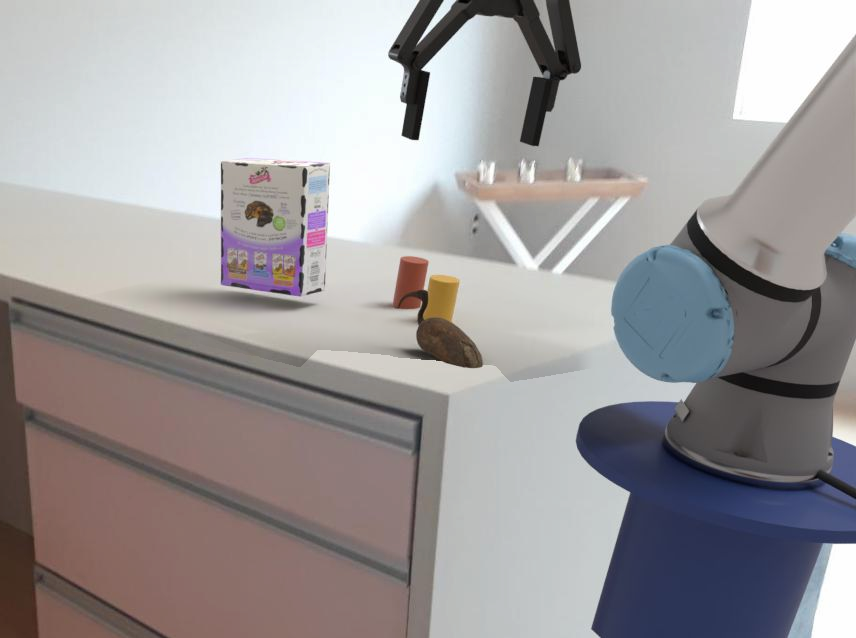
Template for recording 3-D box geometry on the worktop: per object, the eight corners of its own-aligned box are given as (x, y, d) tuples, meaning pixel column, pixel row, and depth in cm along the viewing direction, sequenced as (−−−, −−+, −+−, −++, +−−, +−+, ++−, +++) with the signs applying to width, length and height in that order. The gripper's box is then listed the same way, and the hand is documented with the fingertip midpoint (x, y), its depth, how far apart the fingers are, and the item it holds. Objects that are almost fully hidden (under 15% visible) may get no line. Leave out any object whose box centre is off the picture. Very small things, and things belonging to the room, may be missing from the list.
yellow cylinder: (453, 338, 143) (464, 282, 139) (427, 338, 142) (437, 282, 139) (441, 329, 146) (451, 274, 143) (415, 329, 145) (425, 274, 142)
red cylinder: (423, 316, 150) (433, 263, 147) (398, 316, 150) (407, 263, 146) (412, 308, 153) (421, 256, 150) (387, 308, 153) (396, 255, 150)
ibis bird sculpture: (378, 360, 134) (383, 286, 130) (408, 355, 136) (414, 281, 132) (462, 389, 122) (469, 308, 119) (494, 383, 124) (502, 303, 121)
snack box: (327, 291, 152) (332, 161, 146) (300, 298, 148) (305, 165, 142) (245, 278, 161) (247, 155, 154) (218, 285, 157) (219, 159, 150)
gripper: (608, -78, 117) (559, 140, 126) (378, -101, 111) (345, 129, 121) (651, -78, 110) (596, 152, 120) (409, -102, 105) (372, 141, 114)
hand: (470, 141), depth 120 cm, fingers open, 13 cm apart
